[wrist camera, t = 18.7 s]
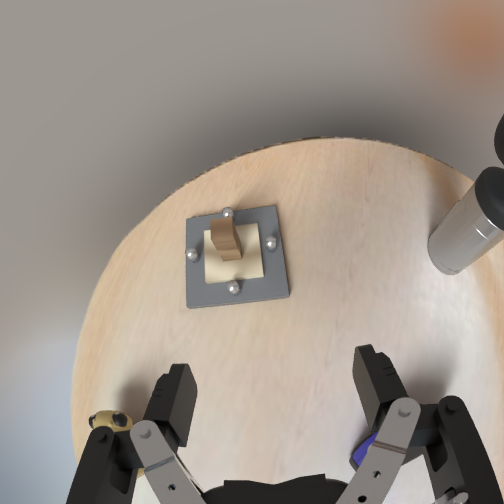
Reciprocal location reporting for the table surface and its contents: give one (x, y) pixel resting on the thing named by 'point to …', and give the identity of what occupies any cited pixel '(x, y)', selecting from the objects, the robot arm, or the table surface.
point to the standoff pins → (232, 284)
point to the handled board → (234, 266)
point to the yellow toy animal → (113, 424)
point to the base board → (251, 289)
